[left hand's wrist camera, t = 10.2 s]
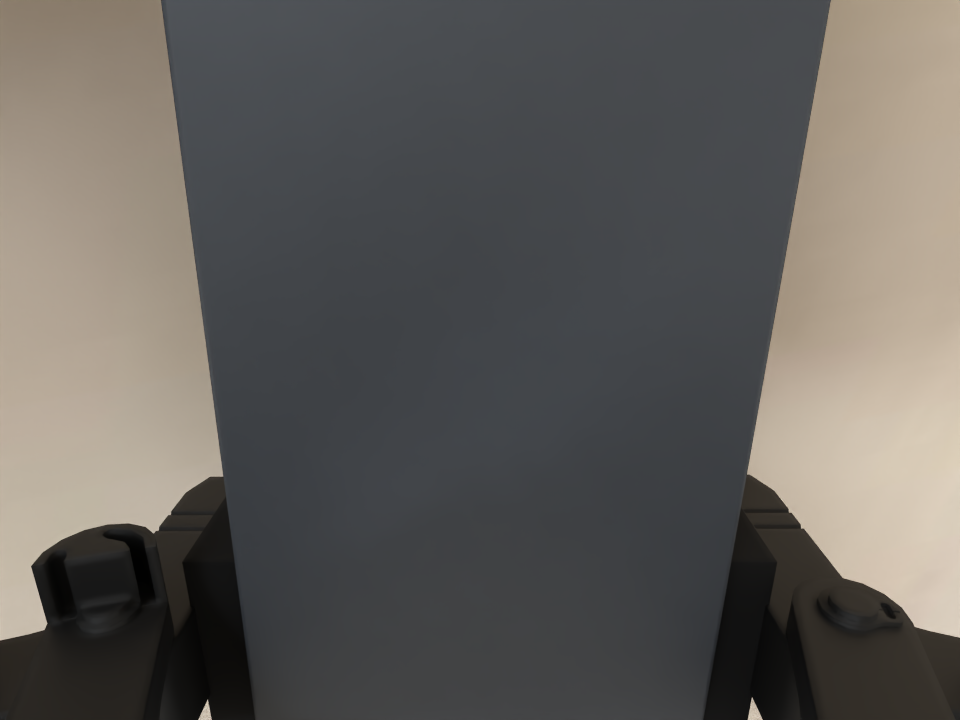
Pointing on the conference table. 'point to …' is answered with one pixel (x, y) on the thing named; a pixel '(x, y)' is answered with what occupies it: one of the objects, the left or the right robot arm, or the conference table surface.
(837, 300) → the conference table surface
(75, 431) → the conference table surface
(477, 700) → the beam
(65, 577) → the left robot arm
